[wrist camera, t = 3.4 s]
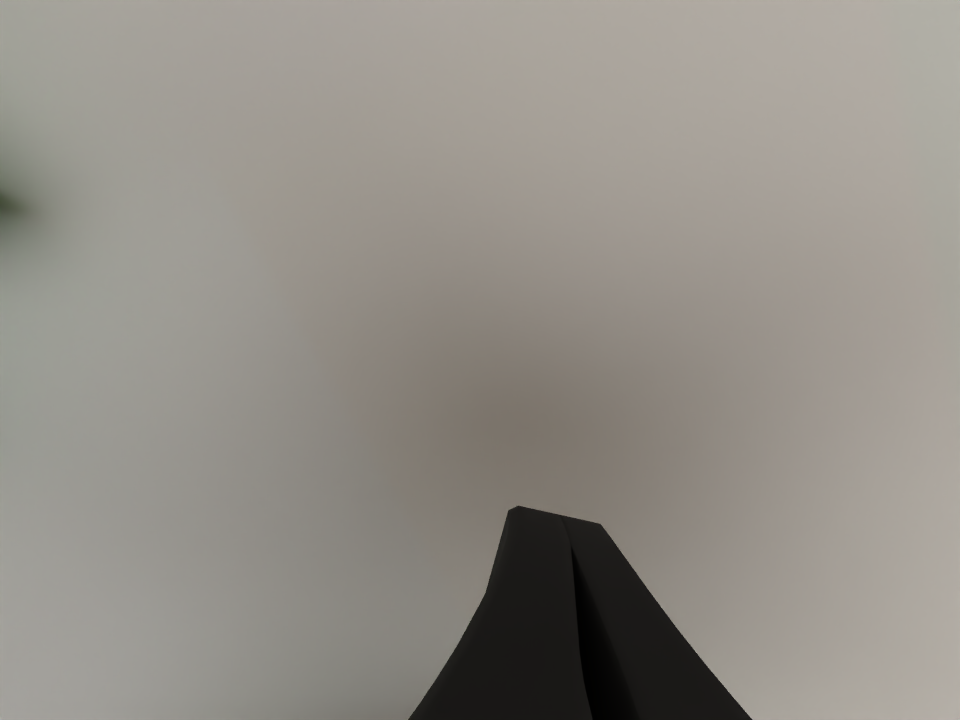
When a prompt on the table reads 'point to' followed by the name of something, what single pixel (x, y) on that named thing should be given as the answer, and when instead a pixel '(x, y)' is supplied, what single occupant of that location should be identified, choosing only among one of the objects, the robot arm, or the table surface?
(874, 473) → the table surface
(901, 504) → the table surface
